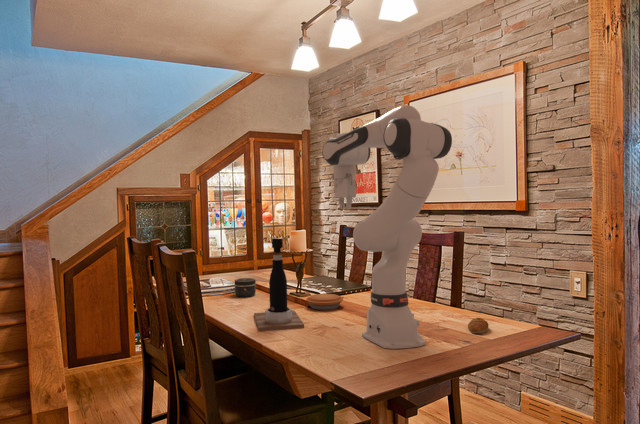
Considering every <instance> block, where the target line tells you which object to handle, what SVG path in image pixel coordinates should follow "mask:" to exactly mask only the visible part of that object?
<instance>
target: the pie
mask: <svg viewBox="0 0 640 424" xmlns="http://www.w3.org/2000/svg"><path fill="white" fill-rule="evenodd" d="M343 300H344V297H342V296H339V295H338V294H335V293H316V294H312V295H310V296H308V297H306V302H307V304H308V305H309V306H310V307H311V309H313V310H315V311H316V310H317V311H332V310H336V309H339V306H340V304H341V303H342V302H343Z"/></svg>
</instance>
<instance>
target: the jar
mask: <svg viewBox="0 0 640 424" xmlns="http://www.w3.org/2000/svg"><path fill="white" fill-rule="evenodd" d="M256 284H257V283H256V279H255V278H251V277H249V278H248V277H246V278H245V277H244V278H238V279H234V294H235V296H236V297H237V298H252V297H254V296H255V295H256V289H257V288H256V287H257V286H256Z"/></svg>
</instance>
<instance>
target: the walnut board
mask: <svg viewBox="0 0 640 424" xmlns="http://www.w3.org/2000/svg"><path fill="white" fill-rule="evenodd" d="M253 316H254V321H255V323H256V327H257V330H258V332H266V331H279V330H281V331H282V330H292V329H293V330H294V329H303V328H305V323H304V322H303V321H302V319H301V318H300V316H299V315H298V314H297V312H296V311H295V309H294V310H293V309H292V321H291V322H288V323H284V324H271V323H267V322H266V321H265V311H262V312H254V313H253Z"/></svg>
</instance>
